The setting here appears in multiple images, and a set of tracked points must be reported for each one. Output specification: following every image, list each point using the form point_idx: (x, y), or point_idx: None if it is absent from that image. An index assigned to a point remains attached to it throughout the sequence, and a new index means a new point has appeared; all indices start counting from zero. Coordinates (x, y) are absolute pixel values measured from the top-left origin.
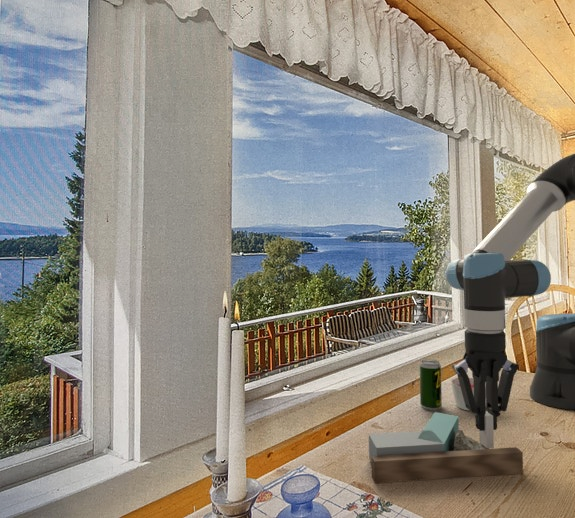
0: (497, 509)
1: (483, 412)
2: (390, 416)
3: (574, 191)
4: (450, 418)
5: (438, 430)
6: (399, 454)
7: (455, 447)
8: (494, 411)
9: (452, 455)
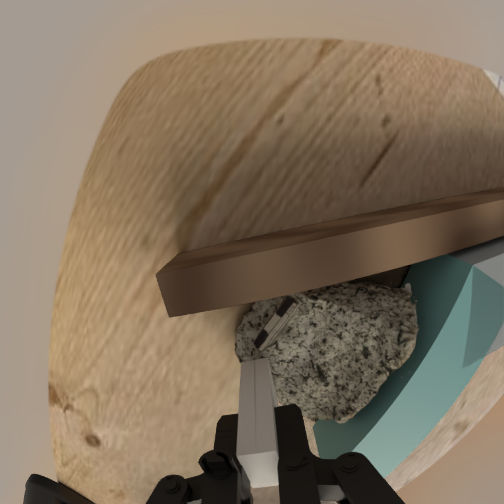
0: (322, 52)
1: (293, 464)
2: (414, 471)
3: None
4: None
5: (444, 373)
6: None
7: (409, 300)
8: (226, 474)
9: (444, 222)
